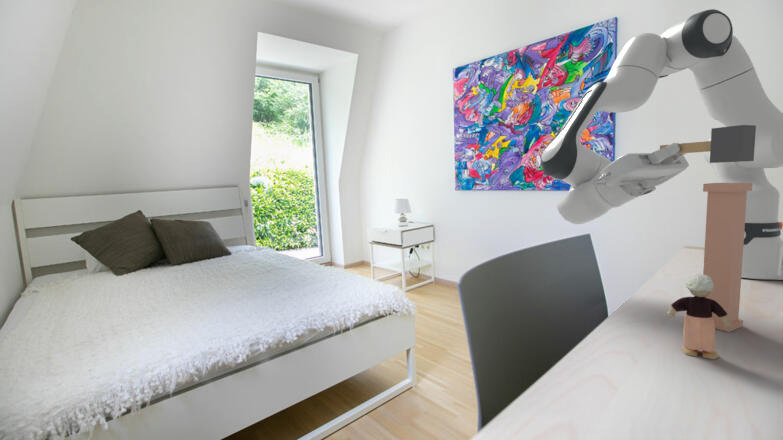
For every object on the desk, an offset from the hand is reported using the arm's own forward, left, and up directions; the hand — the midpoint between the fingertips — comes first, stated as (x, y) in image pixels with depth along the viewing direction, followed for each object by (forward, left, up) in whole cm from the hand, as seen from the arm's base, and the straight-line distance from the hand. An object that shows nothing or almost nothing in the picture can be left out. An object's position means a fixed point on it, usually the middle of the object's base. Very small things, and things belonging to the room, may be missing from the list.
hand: (683, 145), depth 72 cm
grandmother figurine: (+16, +11, -33) cm, 39 cm away
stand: (0, +7, -33) cm, 34 cm away
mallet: (0, +3, -3) cm, 5 cm away
